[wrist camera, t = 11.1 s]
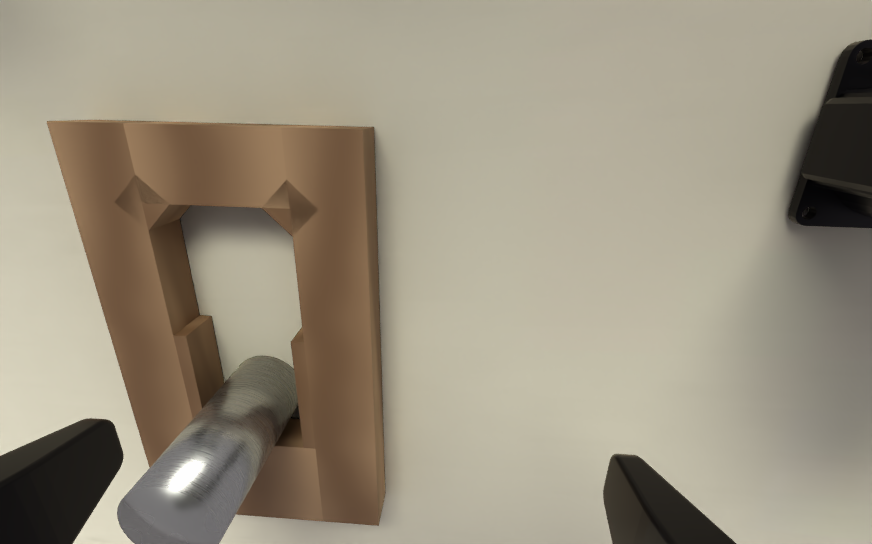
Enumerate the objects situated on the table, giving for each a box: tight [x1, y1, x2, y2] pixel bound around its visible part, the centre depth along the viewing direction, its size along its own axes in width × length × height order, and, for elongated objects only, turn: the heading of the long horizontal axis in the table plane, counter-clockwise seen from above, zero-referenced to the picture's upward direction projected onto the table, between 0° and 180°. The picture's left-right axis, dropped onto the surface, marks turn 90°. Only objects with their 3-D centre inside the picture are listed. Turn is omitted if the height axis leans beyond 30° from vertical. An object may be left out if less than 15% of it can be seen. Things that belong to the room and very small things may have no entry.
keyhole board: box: [47, 120, 385, 526], centre depth 20 cm, size 12×20×2 cm, turn 179°
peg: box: [117, 356, 298, 544], centre depth 18 cm, size 4×4×8 cm
